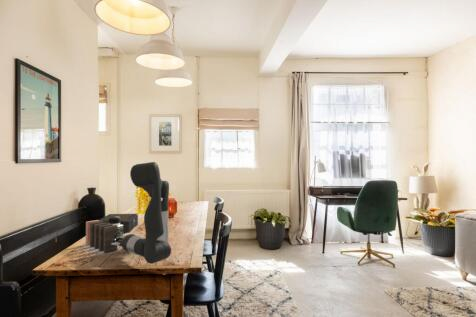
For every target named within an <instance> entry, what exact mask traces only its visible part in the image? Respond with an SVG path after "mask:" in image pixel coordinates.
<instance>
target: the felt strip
mask: <svg viewBox="0 0 476 317" xmlns="http://www.w3.org/2000/svg"><path fill="white" fill-rule="evenodd" d="M80 246H81V247H83V248H85V249H88V250H89V251H92V252H94V253H96V254H99V255H101V256H105V255H109V254H113V253H117V252H122V251H123V249H121V248H118V250H117V251H114V252H109V253H104V251H99V249H94V247H92V248H91V247H90V245H89V246H87V245H86V243H85V244H82V245H80Z"/></svg>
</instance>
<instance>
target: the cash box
mask: <svg viewBox="0 0 476 317" xmlns="http://www.w3.org/2000/svg"><path fill="white" fill-rule="evenodd" d="M110 217H120V225H123V234H128V233H130V232H132V231H133V229H135V228H136V227H137V226H138V224H139V215H138V214H137V213H110V214H107V215H105V216H103V217H102V218H100V219H98V220H99V222H100V221H103V223H108V224H109V218H110Z"/></svg>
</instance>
